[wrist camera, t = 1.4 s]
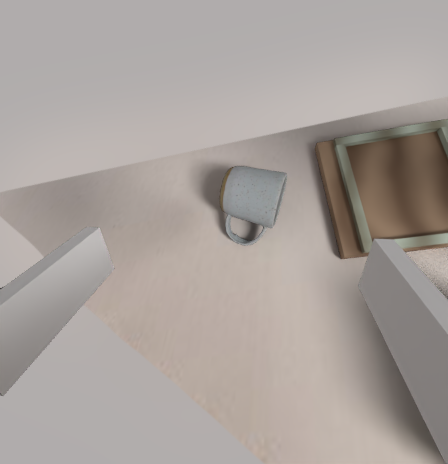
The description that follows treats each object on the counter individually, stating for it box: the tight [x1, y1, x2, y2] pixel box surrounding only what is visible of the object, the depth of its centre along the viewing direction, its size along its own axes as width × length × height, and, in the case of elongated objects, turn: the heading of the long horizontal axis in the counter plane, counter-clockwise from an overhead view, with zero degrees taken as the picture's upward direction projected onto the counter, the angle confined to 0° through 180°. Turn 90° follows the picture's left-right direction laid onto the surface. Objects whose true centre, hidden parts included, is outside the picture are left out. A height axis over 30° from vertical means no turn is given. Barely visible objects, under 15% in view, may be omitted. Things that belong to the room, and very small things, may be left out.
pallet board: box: [315, 119, 448, 259], centre depth 32 cm, size 20×18×2 cm
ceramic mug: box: [220, 166, 287, 245], centre depth 32 cm, size 11×8×8 cm
